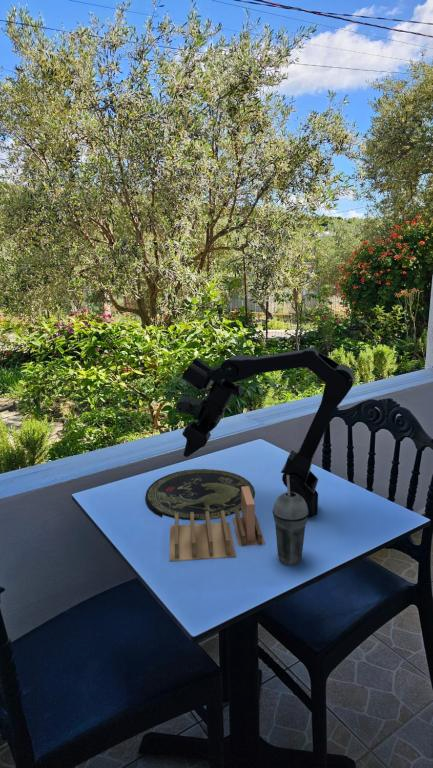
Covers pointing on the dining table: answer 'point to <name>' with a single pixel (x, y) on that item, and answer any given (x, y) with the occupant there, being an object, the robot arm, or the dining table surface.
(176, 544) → the rack
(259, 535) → the holder
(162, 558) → the dining table surface
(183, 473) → the decorative plate
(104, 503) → the dining table surface
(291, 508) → the beverage cup
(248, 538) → the wooden block
